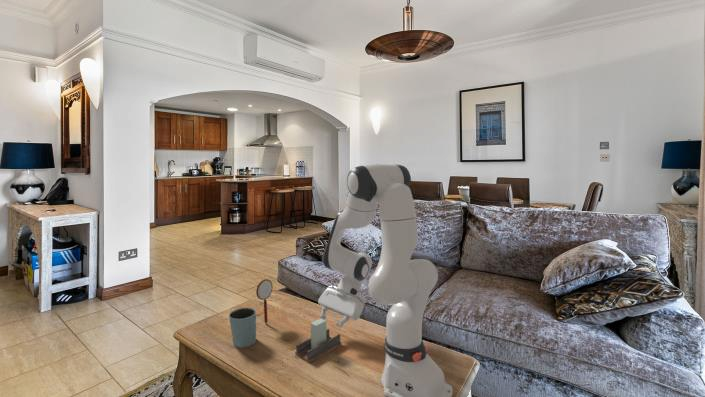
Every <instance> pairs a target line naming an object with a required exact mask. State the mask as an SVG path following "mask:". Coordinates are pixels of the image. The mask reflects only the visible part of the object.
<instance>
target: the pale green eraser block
mask: <svg viewBox="0 0 705 397" xmlns="http://www.w3.org/2000/svg"><path fill="white" fill-rule="evenodd" d="M326 330H327V320H326V319H325V320H323V319H321V318H320V317H319V318H318V319H316V320H314V321H313V322H310V338H311V349H312V348H314V347H316V346H318V345H320V344H322V343H323V342H325V341H327V338H326Z"/></svg>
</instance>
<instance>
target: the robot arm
mask: <svg viewBox="0 0 705 397" xmlns="http://www.w3.org/2000/svg"><path fill="white" fill-rule="evenodd" d="M349 170H350V171H349V172H348V175H347V178H346V179H347V180H346V185H347V189H348V194H347V198H346V204H345V207H344V209H342V210H340V211H339V212H338V213H337V215H336V217H335V219H334V221H333V224H332V227H331V230H330V234H329V237H328V240H327V244H326V246H325V248H324V251H323V253H322V255H321V260H322V263H323V266H324V267H325V268H327V269H329V270H332V271H336V272H338V273H340V274H341V275H343V276H342V277H341V279H340V281H339V282H338V284H337V286H335V285H332V284H331V285H329V286H327V287H326V289H325V290H324V291H323V292H322V294H321V295H320V297H319V298H318V300H317V302H318V304H319V305H320V307H322V308H321V314H320V315H319V319H320V318H321V319H323V320H325V321H326V318H327V315H326V312H328V311H332V312H333V313H337V314H338V315H342V317H343V318H341V320H338V321H337V323H336V326H337V327H339V328H341V329H342V327H344V324H346V323H347V322H348V321H349V320H353V321H357V320H358V319H360V317H361V314H362V313H363V310H364V308H365V304H366V303H367V301H368V300H367V298H366V297H365V295H363V293H361V289H362V285H363V284H364V283H365V282H366V279H367V278H368V276H369V274H370V271H371V268H372V265H373V260H372V258H371V257H370V256H369V255H368V254H366V253H365V252H356V251H352V250H350V249H349V248H345V247H344V246H342V244H341V242H342V239H343V236H344V232H345V230H347V229H354V230H355V229H356V230H357V229H362V228H365V227H367V226H369V225H371V224H372V223H373V221H374V219H375V218H376V215H377V214H376V213H377V206H378V208H379V219H380V220H379V221H380V231H381V251H380V256H379V260H378V263H377V266H376V268H375V270H374V271H373V273H372V275H370V278H369V280H368V284H367V287H368V292H369V296H370V297H371V298H372V300H373V301H374V302H375V303H376V304H377V305H379V306H384V307H385V306H391V307H390V309H389V310H388V312H387V314H386V317H385V318H386V326H385V327H386V328H385V329H386V330H385V331H386V336H385V338H384V352H385V360H384V366H383V371H382V373H381V374H382V375H381V378H380V380H381V382H380V383H381V384H382V387H383V394H384V396H385V397H453V395H454V390H453V389H454V388H453V386H452V385H450V384H449V383H447V382H446V379H445V374H444V371H443V370H442V368H441V367H440V366H439V365H437V363H436V362H435V361H434V360H433V359H432V358H431V356H429V354H428V353H427V351H429V350H430V345H426V346H425V343H424V340H423V339H422V336H423V335H422V334H423V333H422V332H423V331H422V330H423V318H424V313H425V308H426V306H427V304H428V303H427V302H428V300H429V297H430V295H431V292H432V290H433V288H434V287H435V286H436V285H437V283H438V281H439V274H438V270H437V268H436V266H435V264H434V263H433V262H432V261H430V260H428V259H427V258H426V259H424V258H415V259H414V258H413V259H412V255H413V253H414V251H415V249H416V247H417V246H418V244H419V232H418V224H417V223H418V222H417V221H418V220H417V213H416V207H415V202H414V198H413V194H412V191H411V187H410V186H411V184H412V178H411V177H412V176H411V173H410V171H409V169H408V168H407V167H405V166H404V165H402V164H380V163H377V164H374V163H373V164H369V165H359V166H356V167H353V168H351V169H349Z"/></svg>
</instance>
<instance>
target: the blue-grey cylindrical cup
mask: <svg viewBox="0 0 705 397" xmlns="http://www.w3.org/2000/svg"><path fill="white" fill-rule="evenodd" d="M228 320H229V324H230V325H229V326H230V330H231V336H232V344H233V346H234V347H235V348H238V349H239V348H240V349H243V348H248V347H251V346H253V345H254V344H256V341H257V323H256V322H257V310H256V309H255V308H252V307H240V308H237V309H234V310H232V311H231V312H229V315H228Z"/></svg>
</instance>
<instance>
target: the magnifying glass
mask: <svg viewBox="0 0 705 397" xmlns="http://www.w3.org/2000/svg"><path fill="white" fill-rule="evenodd" d="M255 290H256V292H255V294H256V297H257V298H258V299H259V300H262V301H263V313H264V314H263V316H264V318H263V319H264V323H265V325H267V324H268V303H267V302H268V301H267V299H268V298H269V297H270V296H271V294H272V292H273V283H272V281H271V280H270V279H267V278H266V279H265V278H264V279H263V280H260V282H259V283H258V285H257V286H256V289H255Z"/></svg>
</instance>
